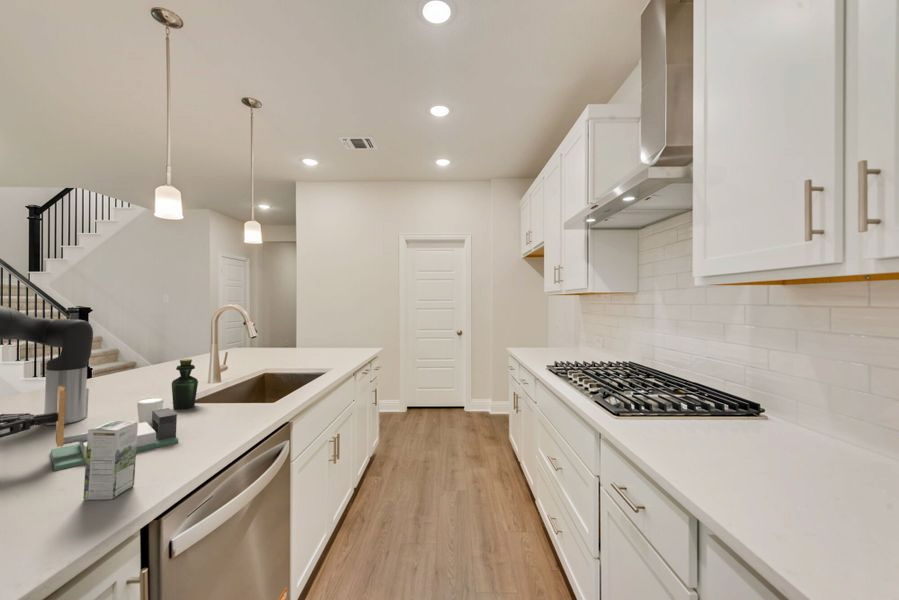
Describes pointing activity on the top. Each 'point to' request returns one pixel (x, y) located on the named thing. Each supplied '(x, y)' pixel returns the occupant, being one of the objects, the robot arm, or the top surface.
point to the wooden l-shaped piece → (60, 423)
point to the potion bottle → (184, 386)
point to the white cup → (148, 408)
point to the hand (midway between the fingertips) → (57, 416)
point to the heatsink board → (77, 458)
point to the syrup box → (110, 460)
